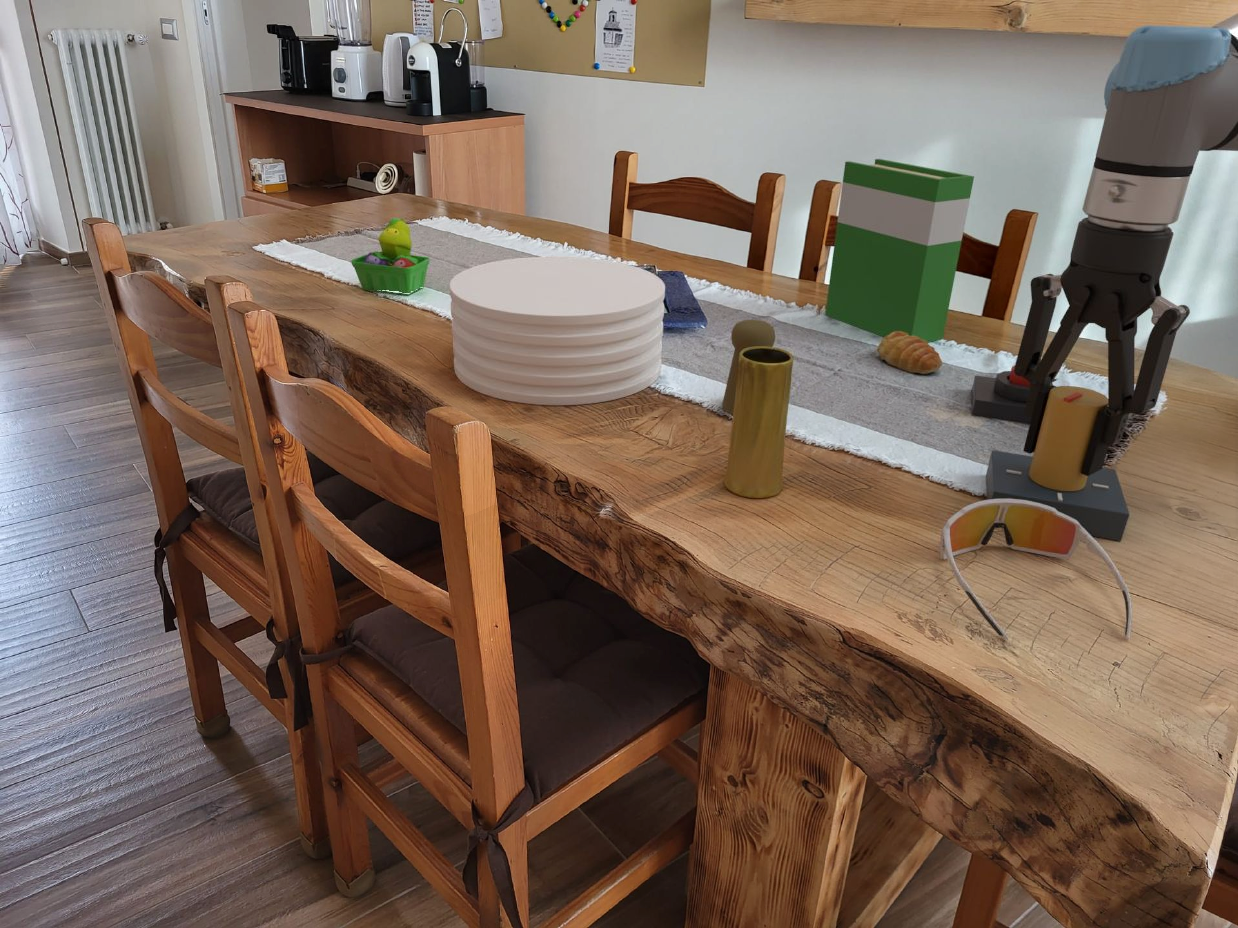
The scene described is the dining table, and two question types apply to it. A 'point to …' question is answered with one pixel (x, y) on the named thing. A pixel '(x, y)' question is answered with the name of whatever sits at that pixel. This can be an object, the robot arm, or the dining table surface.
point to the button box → (1000, 398)
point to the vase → (759, 422)
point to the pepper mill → (744, 337)
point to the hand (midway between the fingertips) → (1061, 459)
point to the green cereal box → (897, 247)
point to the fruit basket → (392, 263)
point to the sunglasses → (1020, 539)
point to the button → (1017, 378)
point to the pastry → (909, 353)
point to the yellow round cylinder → (1065, 437)
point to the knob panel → (1062, 494)
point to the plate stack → (557, 329)
